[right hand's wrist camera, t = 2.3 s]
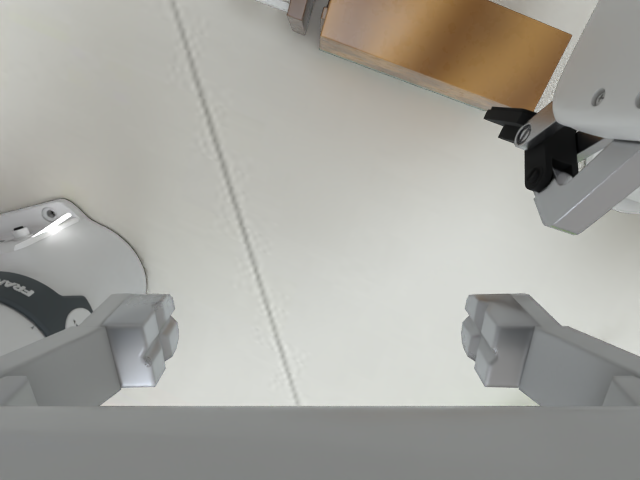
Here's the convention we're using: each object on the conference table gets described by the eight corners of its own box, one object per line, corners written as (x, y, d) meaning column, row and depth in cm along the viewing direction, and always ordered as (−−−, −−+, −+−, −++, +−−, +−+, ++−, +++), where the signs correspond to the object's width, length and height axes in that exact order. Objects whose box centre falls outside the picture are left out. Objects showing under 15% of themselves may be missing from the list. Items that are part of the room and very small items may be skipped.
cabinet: (319, 49, 35) (319, 35, 27) (339, -20, 33) (347, -59, 25) (483, 110, 37) (532, 115, 29) (512, 48, 35) (573, 34, 27)
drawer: (236, 10, 33) (216, -12, 26) (249, -50, 32) (231, -90, 25) (454, 91, 36) (487, 91, 29) (477, 40, 34) (516, 26, 28)
